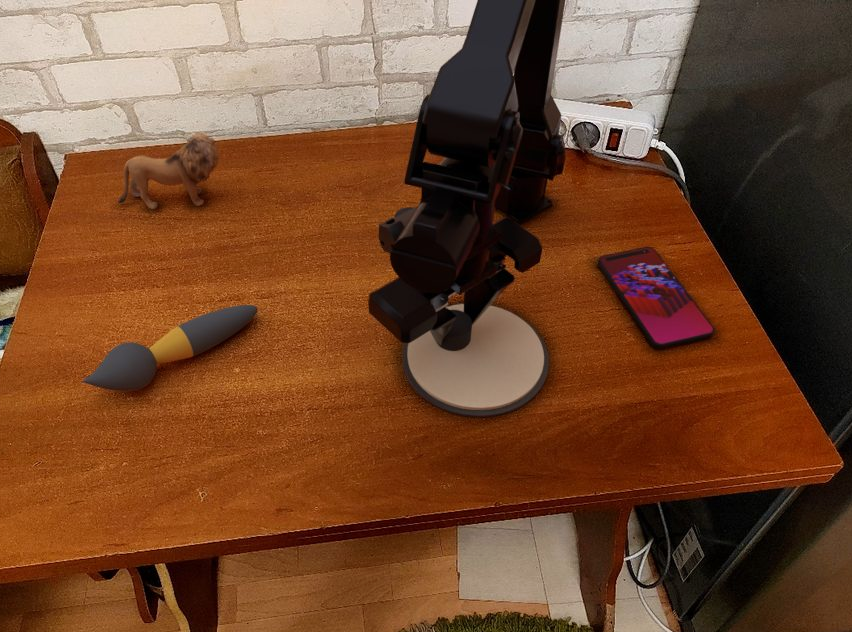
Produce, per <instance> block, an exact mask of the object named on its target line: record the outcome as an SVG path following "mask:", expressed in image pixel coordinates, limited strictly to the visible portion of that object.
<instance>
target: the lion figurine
mask: <svg viewBox="0 0 852 632" xmlns="http://www.w3.org/2000/svg"><path fill="white" fill-rule="evenodd" d="M219 159H220V153H219V151H218V147H217V145H216V143H215V139H214V138H213V137H210V136H209V135H206V134H205V133H203V132H200V133H195V134H193V135H191V136H189V137H188V140H187V142H186V143H185V144H184V145H183V146H182V147H181V148H179V150H176V151H175V152H174V153H173V154H172V155H171V156H170V157H166V158H153V157H150V156H147V155H137V156H134V157H131V158H130V159H128V160H127V161H126V162H125V164H124V167H123V185H124V186H123V187H124V188H123V189H124V190H123V194H122V195H121V196H120V197H119V199H118V200H117V204H124V203H125V202H126V200H127V198H128V194H129V188H130V193H131V195H132V196H133V197H135V198H138V197H140V198H141V200H143V202H144V203H145V204H146V206H147V207H148V208H149V209H150V210H157V209H158V208H159V204H158V202H156V201H152V200H151V199H150V198H149V195H148V190H149V180H150V181H153V182H156V183H158V184H160V185H164V186H179V185H182V186H183V187H185V189H186V191H187V193H188V194H189V197H190V200H191V201H192V203H193V204H194V205H195V206H197V207H201V206H203V205H204V200H203V199H202V198H200V197H199V196H198V195H200V194H201V193H202V189H201V187H197V184H200V183H202V182H206V181H208V180H209V178H210V175H211V173H212V172H213V171H214V169H215V168H216V167H218V163H219ZM130 176H131V179H129V178H130ZM137 188H138V189H137Z"/></svg>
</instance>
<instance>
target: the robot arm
mask: <svg viewBox="0 0 852 632" xmlns="http://www.w3.org/2000/svg"><path fill="white" fill-rule="evenodd" d="M565 7H566V0H477V1H476V3H475V7H474V10H473V14H472V17H471V20H470V22H469V26H468V30H467V33H466V36H465V38H464V41H463V44H462V47H461V48H460V49H459V50H458V51H457V52H456V53H455V54H454V55H452V56H451V57H450V58H449V59H448V60H447V61H446V62H445V63H443V64H442V65H441V66H440V67H439V70H438V72H437V74H436V77H435V80H434V83H433V86H432V88H431V90H430V93H427V94H426V95H425V97H424V98H423V100H422V103H421V105H420V108H419V111H418V117H417V121H416V125H415V130H414V134H413V139H412V143H411V149H410V154H409V157H408V158H409V159H408V161H407V167H406V171H405V176H404V185H407V186H411V187H415V188H420V189H421V195H420V201H419V204H418V205H417V206H415V207H414V208H413V209H411V210H409V211H407V212H405V213H403V214H401V215H399V216H397V217H395V218H394V217H391V218H389V219H387V220H385V221H383V222H381V223H379V224H378V240H379V244H380V247H381V249H382V250H383V252H385V253H388V254H389V261H390V264H391V267H392V269H393V271H394V273H395V274H396V275H397V277H396V278H393V279H392V280H390V281H389V282H387V283H385V284H384V285H382V286H380V287H378V288H377V289H374V290H373V291H371V292H369V294H368V298H367V305H368V313H369V314H370V315H371V316H372V317H373V318H374V319H375V320H376V321H377V322H378V323H379V324H380V325H382V326H383V328H384V329H386V330H387V331H388V332H389V333H390V334H391V335H392V336H393V337H394V338H395V339H397V340H398V341H399V342H400V343H401V344H404V343H411V342H412V341H414V340H416V339H417V338H419V337H420V336H422V335H424V334H425V333H427V332H429V331H430V332H431V334H432V336H433V338H434V340H435V341H436V342H437V343H439V344H440V345H442V344H443V343H444V342H445V340H446V338H447V336H448V334H449V332H450V330H451V328H452V325H453V323H454V321H455V319H456V315H455V314H454V313H453V312H451V311H450V310H449V309H448V308H447V306H449V302H450V300H449V298H451V297H453V296H454V295H459V296H460V295H462V294H463V303H464V313H466V314H467V315H468V316H469V317H470V318H471V320H472V325H473V324H474V323H475V322H476V321H477V320H478V319H479V317H480V316H481V315H482V314H483V313H484V312H485V311H486V309H487V308H488V307H489V306H490V305H493V303H494V302H495V301H496V300H497V299H498V297H499V296H501V295H502V293H503V292H504V291H506V289H507V288H508V287H509V286H511V285H512V284H513V283H514V282H515V277H516V276H515V275H514V274H512V273H511V272H510V271H509V270H507V265H506V264H505V262H506V257H509V258H510V259H511V260H513V261H514V265H513V269H515V270H516V271H518V272H519V273H521V274H524V273H525V272H528V271H529V270H530V269H532V268H533V267H535V266H537V265H538V264H540V263H541V259H542V253H543V245H542V243H541V241H540V239H539V238H538V237H537V236H536V235H534V234H533V233H532V232H530V231H528V230H527V229H526V228H524V227H522V226H521V225H520V224H523V223H525V222H527V221H528V220H530V219H531V218H534V217H535V216H537V215H539V214H540V213H542V212H544V211H546V210H547V209H549V208H551V207H552V206H553V203H554V201H553V200H552V199H551V198H549V197H548V196H546V190H547V186H548V181H550V182H551V181H552V182H554V179H555V177H557V176H558V175H562V174H563V172H564V168H565V163H566V148H565V147H566V144H565V138H564V135H563V134H560V129H561V121H562V113H561V111H560V109H559V107H558V105H557V103H556V102H555V99H554V97H553V95H552V90H553V84H554V77H555V72H556V71H555V70H556V65H557V60H558V59H557V58H558V52H559V45H560V39H561V38H560V37H561V32H562V26H563V19H564V13H565V12H564V11H565ZM427 151H428V153H429V155H432V156H437V157H442V158H443V159H442V160H441V161H440V162H439V163H433V162H429V161H424V160H425V157H426V154H427ZM495 208H496V209H497V210H499V211H500V212H501V213H502V214H504V215H506V217H503V218H501V219H499V220H497V221H495V222H494V217H495V215H494V214H495Z"/></svg>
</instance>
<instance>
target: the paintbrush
mask: <svg viewBox="0 0 852 632" xmlns="http://www.w3.org/2000/svg"><path fill="white" fill-rule="evenodd" d="M258 311H259V308H258V307H257V306H256V305H254V304H239V305H234V306H228V307H225V308H221V309H218V310H214V311H210V312H207V313H205V314H202V315H200V316H197V317H194V318H192V319H190V320H187V321H185V322H183V323H181V324H179V325H176V326H175V327H174V328H173V329H171V330H170V331H168V332H167V333H166V334H165V335H163V336H162V337H161V338H160V339H158V340H157V341H156V342H155V343H154V344H152V345H151V346H150V347H149V348H148V347H147V346H145V345H143V344H141V343H139V342H131V341H130V342H129V341H128V342H122V343H120V344H117V345H116V346H114V347H113V348H112V349H111V350H110V351H109V352H108V353H107V354H106V356H104V358H103V359H102V361H101V362H100V363H99V365H98V367H96V369H95V370H94V371H93V372H92V373H91V374H90V375H88V376H87V377H86V378H84V379H83V380H81V383H83V384H88V385H91V386H94V387H97V388H101V389H104V390H109V391H116V392H119V391H120V392H132V391H139V390H142V389H143V388H145V387H147V386H148V385H149V384H150V383H151V382H152V380H154V377H155V375H156V373H157V365H159V364H165V363H170V362H175V361H181V360H184V359H189V358H192V357H195V356H198V355H199V354H203V353H204V352H206V351H209V350H210V349H212V348H214V347H215V346H217V345H219V344H221V343H222V342H224V341H226V340H227V339H229V338H230V337H232V336H233V335H235V334H236V333H237V332H239V331H241V330H242V329H243V328H244V327H245V326H247V325H248V324H249V323H251V321H252V320H253V319H254V318H255V316H256V315H257V313H258Z"/></svg>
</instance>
